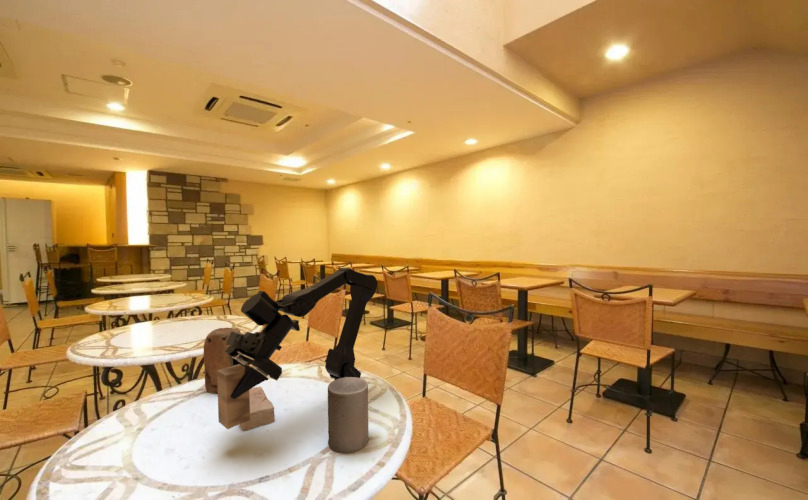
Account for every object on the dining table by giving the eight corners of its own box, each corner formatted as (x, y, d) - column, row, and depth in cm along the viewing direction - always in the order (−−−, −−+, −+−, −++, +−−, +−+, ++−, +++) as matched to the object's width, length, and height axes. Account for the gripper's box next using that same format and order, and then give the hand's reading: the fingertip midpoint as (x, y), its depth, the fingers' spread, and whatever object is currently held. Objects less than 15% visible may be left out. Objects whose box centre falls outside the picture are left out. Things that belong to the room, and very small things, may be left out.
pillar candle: (319, 444, 79) (318, 382, 79) (348, 425, 87) (347, 368, 87) (349, 459, 74) (348, 392, 74) (377, 437, 82) (376, 376, 82)
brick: (276, 422, 90) (275, 405, 90) (242, 433, 86) (241, 414, 85) (261, 400, 104) (261, 385, 104) (231, 408, 99) (230, 392, 99)
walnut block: (240, 413, 81) (239, 364, 81) (250, 419, 78) (248, 368, 78) (218, 421, 78) (217, 370, 77) (227, 429, 74) (225, 375, 74)
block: (245, 385, 114) (244, 326, 114) (232, 395, 107) (230, 332, 107) (215, 384, 115) (214, 326, 115) (200, 394, 108) (198, 332, 108)
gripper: (232, 313, 86) (184, 368, 78) (267, 323, 74) (215, 389, 66) (262, 336, 93) (221, 389, 84) (300, 349, 80) (256, 413, 72)
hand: (227, 394), depth 77 cm, fingers closed on walnut block, 5 cm apart
